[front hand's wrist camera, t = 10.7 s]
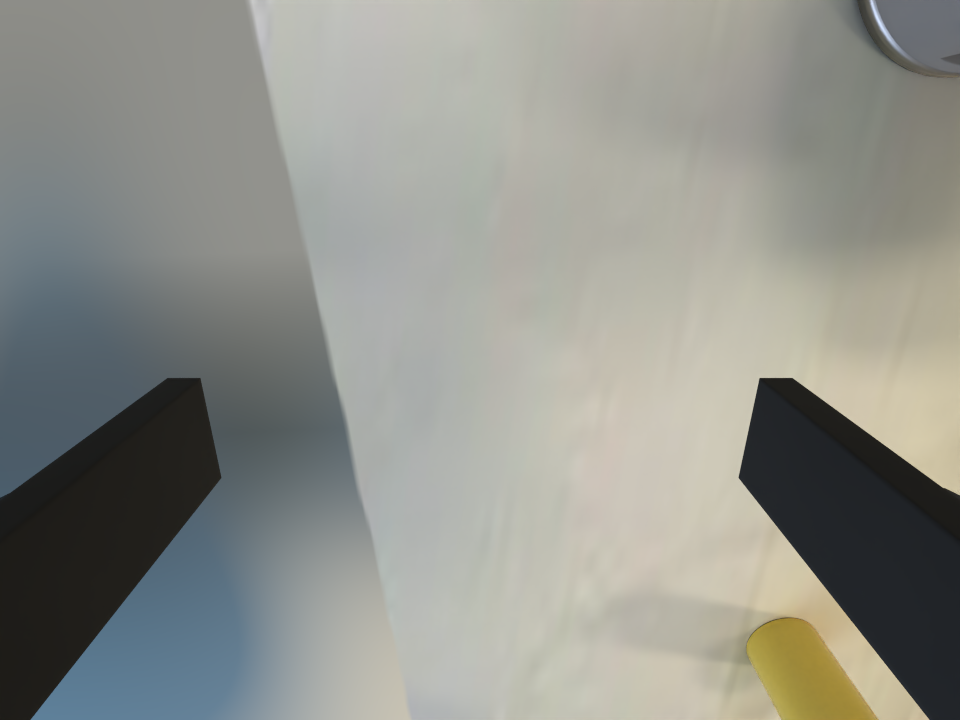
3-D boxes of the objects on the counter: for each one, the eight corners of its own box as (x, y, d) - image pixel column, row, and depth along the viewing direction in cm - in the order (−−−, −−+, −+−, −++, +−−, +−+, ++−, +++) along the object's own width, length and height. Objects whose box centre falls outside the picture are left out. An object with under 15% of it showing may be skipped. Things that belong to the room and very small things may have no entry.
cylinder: (831, 643, 53) (925, 775, 42) (772, 679, 55) (847, 815, 44) (791, 606, 51) (878, 734, 40) (731, 644, 53) (799, 777, 42)
